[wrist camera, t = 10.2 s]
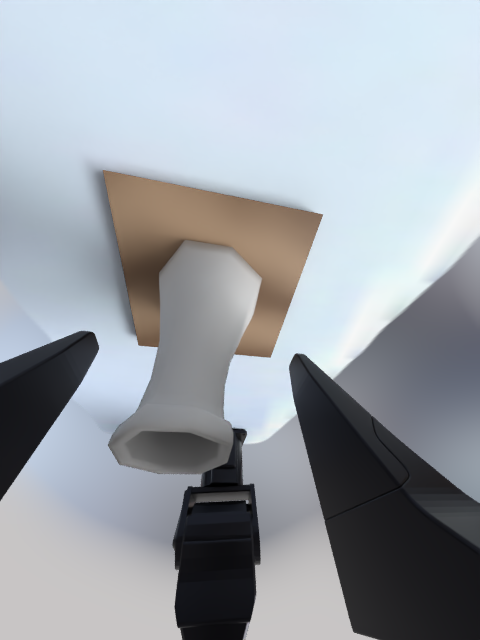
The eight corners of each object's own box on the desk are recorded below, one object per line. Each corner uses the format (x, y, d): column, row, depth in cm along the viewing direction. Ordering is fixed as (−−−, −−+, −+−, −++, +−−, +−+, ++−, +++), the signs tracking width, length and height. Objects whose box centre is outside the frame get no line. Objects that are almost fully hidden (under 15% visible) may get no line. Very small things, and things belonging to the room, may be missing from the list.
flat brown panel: (267, 343, 19) (270, 357, 17) (147, 331, 17) (138, 345, 16) (310, 212, 12) (323, 214, 10) (122, 174, 11) (103, 169, 9)
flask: (175, 216, 10) (-66, 286, 2) (279, 271, 12) (376, 419, 4) (149, 312, 14) (23, 482, 5) (233, 342, 16) (234, 500, 8)
